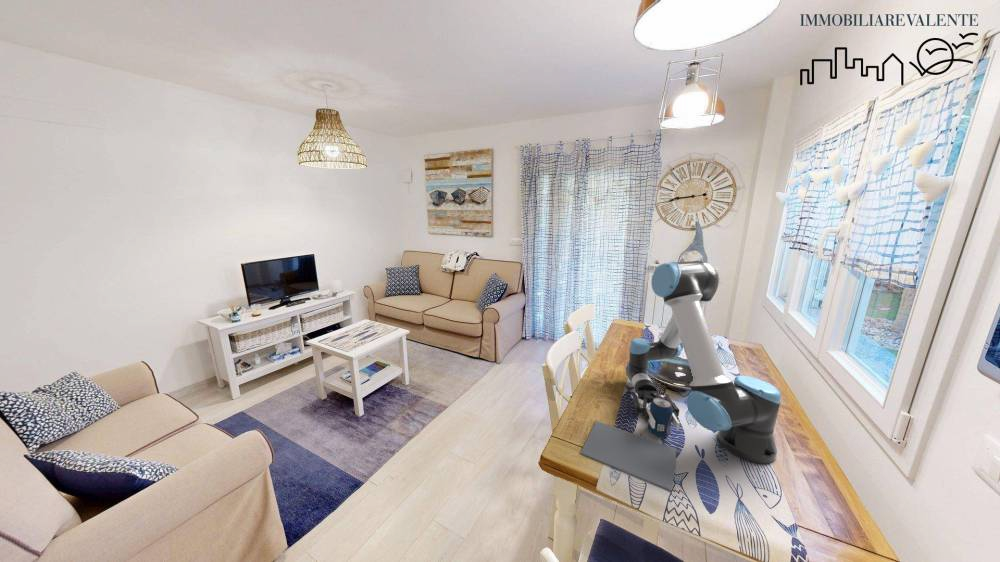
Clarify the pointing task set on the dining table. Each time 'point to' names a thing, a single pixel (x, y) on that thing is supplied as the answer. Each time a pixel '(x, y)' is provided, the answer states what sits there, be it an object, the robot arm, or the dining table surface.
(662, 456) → the mat
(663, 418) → the soda can
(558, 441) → the dining table surface
